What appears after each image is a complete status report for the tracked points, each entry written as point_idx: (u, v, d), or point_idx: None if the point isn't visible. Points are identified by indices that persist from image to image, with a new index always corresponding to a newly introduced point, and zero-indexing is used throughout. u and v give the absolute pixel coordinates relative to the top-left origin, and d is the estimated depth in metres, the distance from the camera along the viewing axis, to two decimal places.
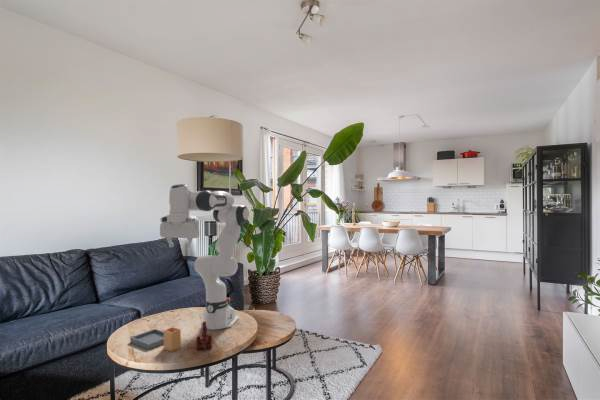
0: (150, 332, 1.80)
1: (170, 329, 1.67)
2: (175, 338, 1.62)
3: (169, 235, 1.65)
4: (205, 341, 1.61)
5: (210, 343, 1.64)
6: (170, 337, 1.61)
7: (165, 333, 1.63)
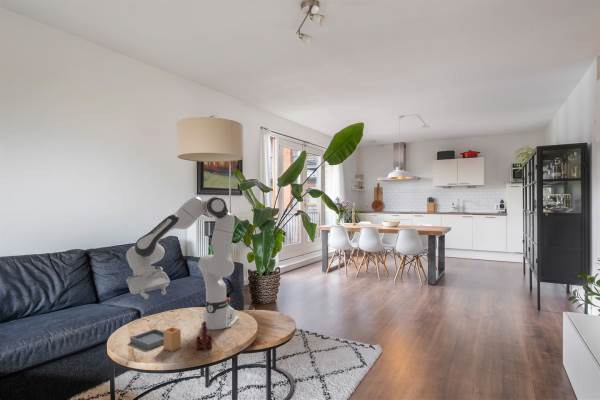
0: (150, 332, 1.80)
1: (170, 329, 1.67)
2: (175, 338, 1.62)
3: None
4: (205, 341, 1.61)
5: (210, 343, 1.64)
6: (170, 337, 1.61)
7: (165, 333, 1.63)
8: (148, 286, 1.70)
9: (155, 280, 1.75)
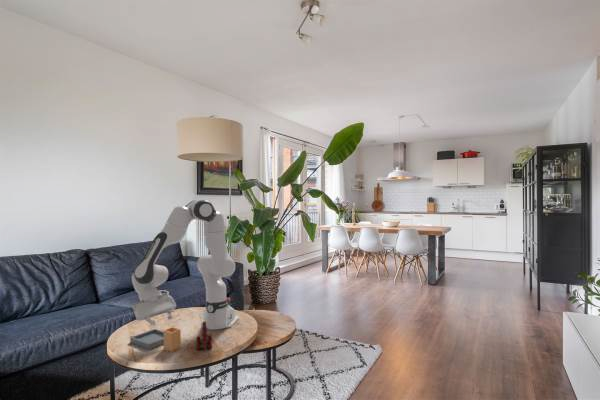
0: (150, 332, 1.80)
1: (170, 329, 1.67)
2: (175, 338, 1.62)
3: None
4: (205, 341, 1.61)
5: (210, 343, 1.64)
6: (170, 337, 1.61)
7: (165, 333, 1.63)
8: (154, 312, 1.67)
9: (161, 305, 1.73)
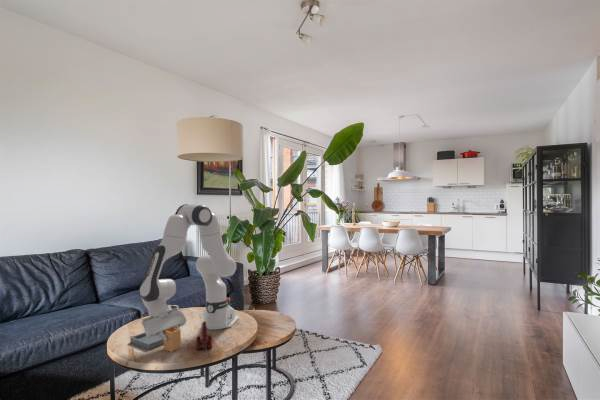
0: None
1: (170, 329, 1.67)
2: (175, 338, 1.62)
3: None
4: (205, 341, 1.61)
5: (210, 343, 1.64)
6: (170, 337, 1.61)
7: (165, 333, 1.63)
8: (164, 328, 1.63)
9: (171, 321, 1.68)
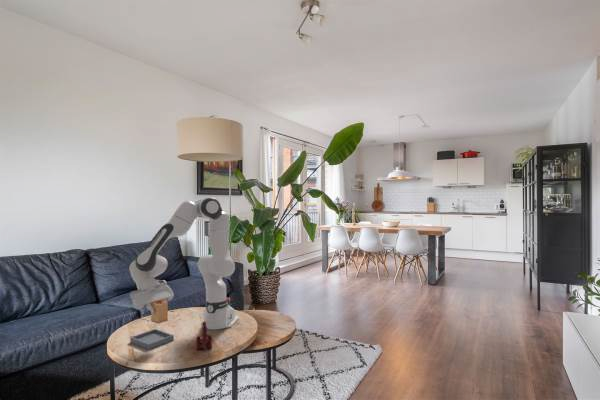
0: (150, 332, 1.80)
1: (158, 302, 1.72)
2: (162, 310, 1.68)
3: None
4: (205, 341, 1.61)
5: (210, 343, 1.64)
6: (157, 309, 1.66)
7: (153, 305, 1.68)
8: (152, 301, 1.68)
9: (159, 294, 1.73)
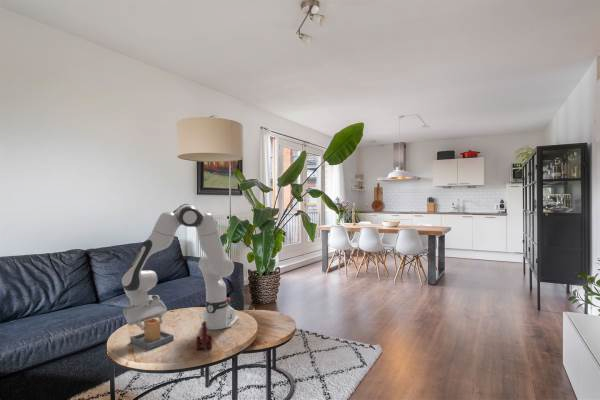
0: None
1: (151, 320, 1.76)
2: (155, 329, 1.72)
3: None
4: (205, 341, 1.61)
5: (210, 343, 1.64)
6: (150, 328, 1.70)
7: (146, 324, 1.72)
8: (144, 317, 1.72)
9: (152, 310, 1.77)
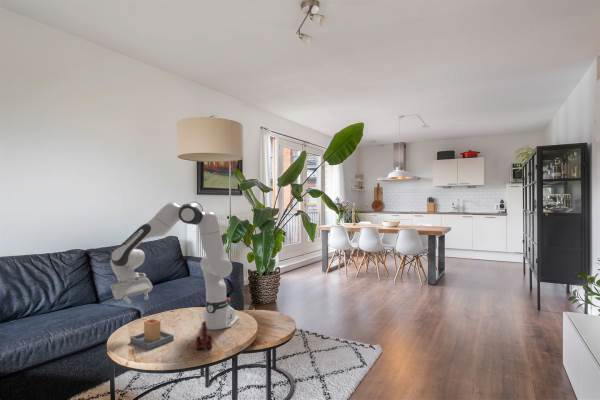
0: None
1: (151, 320, 1.76)
2: (155, 329, 1.72)
3: None
4: (205, 341, 1.61)
5: (210, 343, 1.64)
6: (150, 328, 1.70)
7: (146, 324, 1.72)
8: (131, 292, 1.79)
9: (138, 286, 1.85)
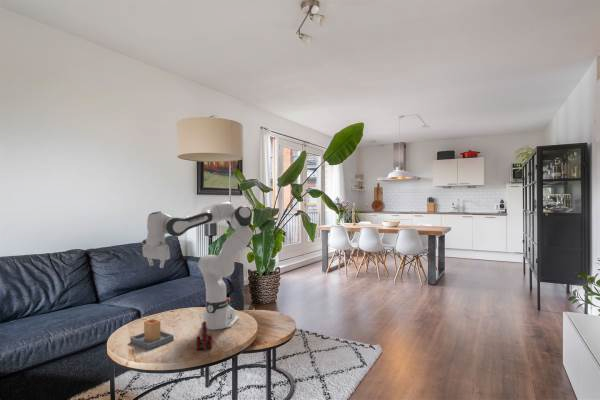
0: None
1: (151, 320, 1.76)
2: (155, 329, 1.72)
3: (148, 256, 1.90)
4: (205, 341, 1.61)
5: (210, 343, 1.64)
6: (150, 328, 1.70)
7: (146, 324, 1.72)
8: None
9: None
